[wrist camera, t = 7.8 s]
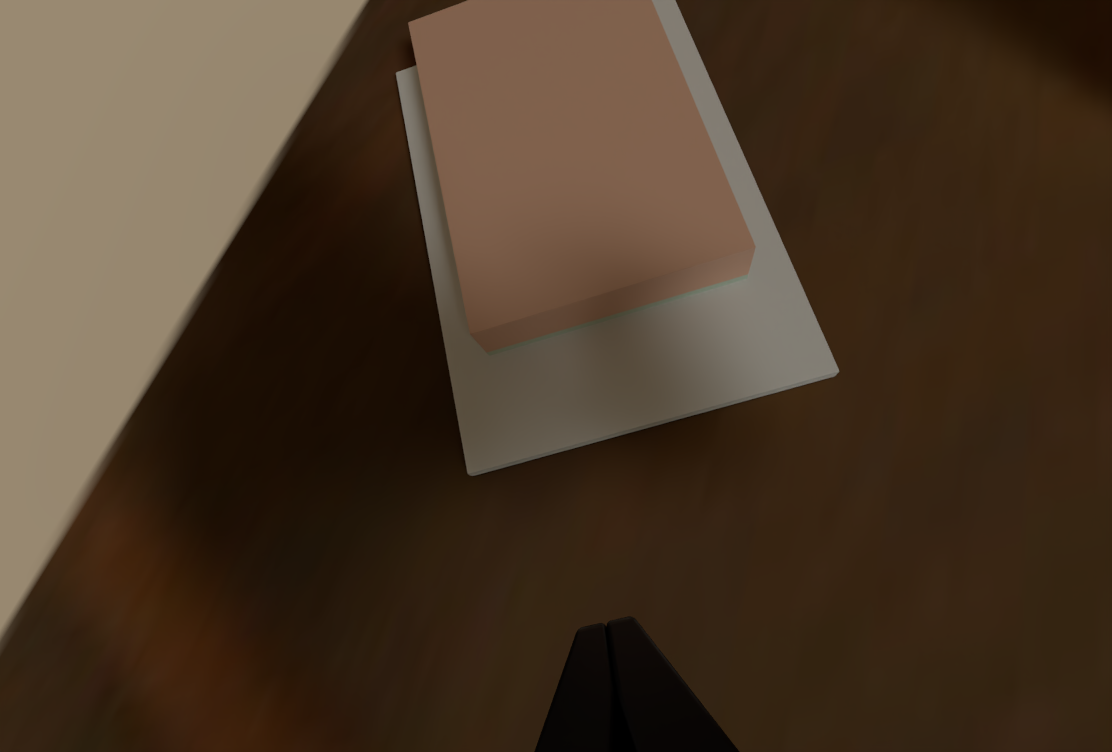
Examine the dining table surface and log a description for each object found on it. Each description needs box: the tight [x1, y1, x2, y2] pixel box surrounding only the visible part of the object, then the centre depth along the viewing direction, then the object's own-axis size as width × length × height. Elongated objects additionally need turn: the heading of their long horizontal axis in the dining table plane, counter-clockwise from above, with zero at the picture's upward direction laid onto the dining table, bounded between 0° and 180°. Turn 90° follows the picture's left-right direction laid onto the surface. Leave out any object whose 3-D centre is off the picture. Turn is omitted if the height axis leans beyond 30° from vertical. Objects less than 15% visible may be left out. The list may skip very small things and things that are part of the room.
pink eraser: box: [408, 0, 756, 356], centre depth 20 cm, size 9×2×14 cm
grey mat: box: [396, 0, 839, 476], centre depth 21 cm, size 12×18×1 cm, turn 13°
